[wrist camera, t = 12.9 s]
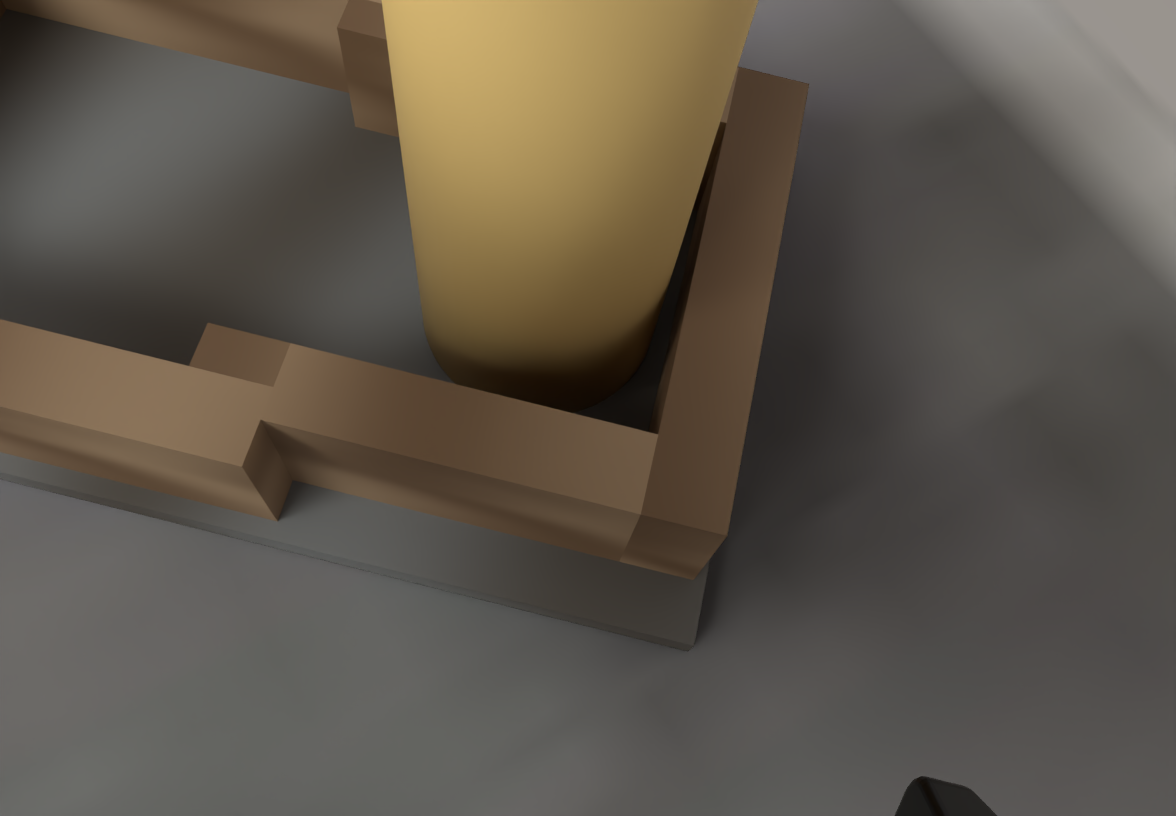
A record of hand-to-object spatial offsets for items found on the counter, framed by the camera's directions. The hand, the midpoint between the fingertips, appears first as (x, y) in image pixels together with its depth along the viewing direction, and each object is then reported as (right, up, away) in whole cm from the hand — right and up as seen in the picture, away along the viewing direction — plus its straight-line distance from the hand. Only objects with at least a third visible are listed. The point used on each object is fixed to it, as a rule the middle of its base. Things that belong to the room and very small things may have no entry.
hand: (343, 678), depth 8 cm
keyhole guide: (-3, +5, +10) cm, 12 cm away
